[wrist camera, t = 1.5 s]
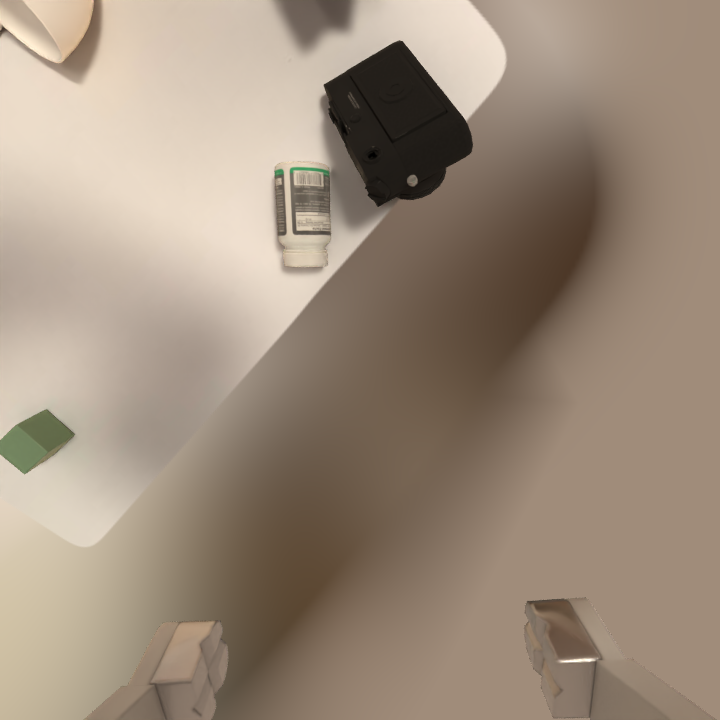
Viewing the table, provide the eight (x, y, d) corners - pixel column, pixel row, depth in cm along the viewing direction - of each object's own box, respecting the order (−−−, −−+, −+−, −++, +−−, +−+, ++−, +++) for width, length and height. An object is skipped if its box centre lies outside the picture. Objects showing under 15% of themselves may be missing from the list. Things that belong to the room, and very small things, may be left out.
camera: (409, 104, 39) (335, 146, 40) (392, 22, 32) (305, 74, 33) (480, 202, 33) (390, 249, 34) (477, 125, 26) (366, 186, 27)
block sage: (24, 430, 45) (-8, 448, 41) (46, 408, 44) (15, 424, 40) (53, 455, 46) (24, 474, 42) (75, 434, 45) (48, 452, 41)
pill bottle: (291, 171, 38) (294, 264, 40) (263, 161, 33) (268, 266, 36) (338, 168, 36) (339, 265, 38) (315, 158, 32) (317, 268, 34)
